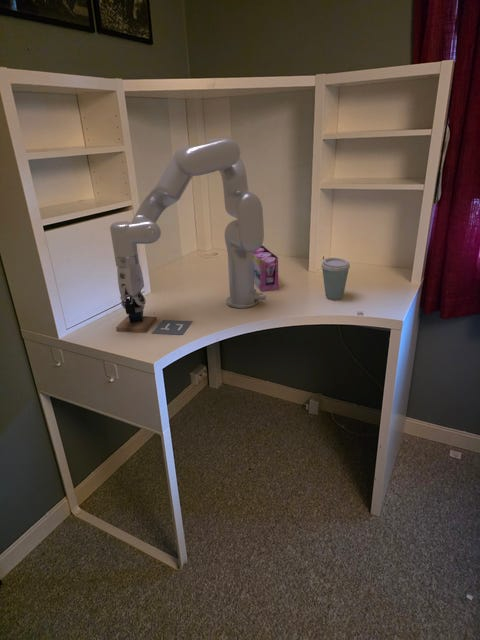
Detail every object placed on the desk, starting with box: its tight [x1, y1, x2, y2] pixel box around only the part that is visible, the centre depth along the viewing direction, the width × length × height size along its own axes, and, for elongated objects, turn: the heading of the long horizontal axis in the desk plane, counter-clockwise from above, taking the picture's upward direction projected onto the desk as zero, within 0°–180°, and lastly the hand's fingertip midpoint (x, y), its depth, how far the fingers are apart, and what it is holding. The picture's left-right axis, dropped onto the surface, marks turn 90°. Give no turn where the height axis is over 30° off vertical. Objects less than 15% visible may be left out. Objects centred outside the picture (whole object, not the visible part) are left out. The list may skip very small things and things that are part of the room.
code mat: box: [151, 319, 193, 336], centre depth 148 cm, size 11×11×1 cm
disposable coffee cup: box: [321, 257, 351, 301], centre depth 163 cm, size 11×11×15 cm
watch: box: [120, 292, 147, 322], centre depth 147 cm, size 6×8×11 cm
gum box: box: [253, 244, 279, 292], centre depth 184 cm, size 24×8×14 cm, turn 14°
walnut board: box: [115, 314, 158, 333], centre depth 150 cm, size 11×10×2 cm
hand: (134, 310), depth 148 cm, fingers open, 5 cm apart
